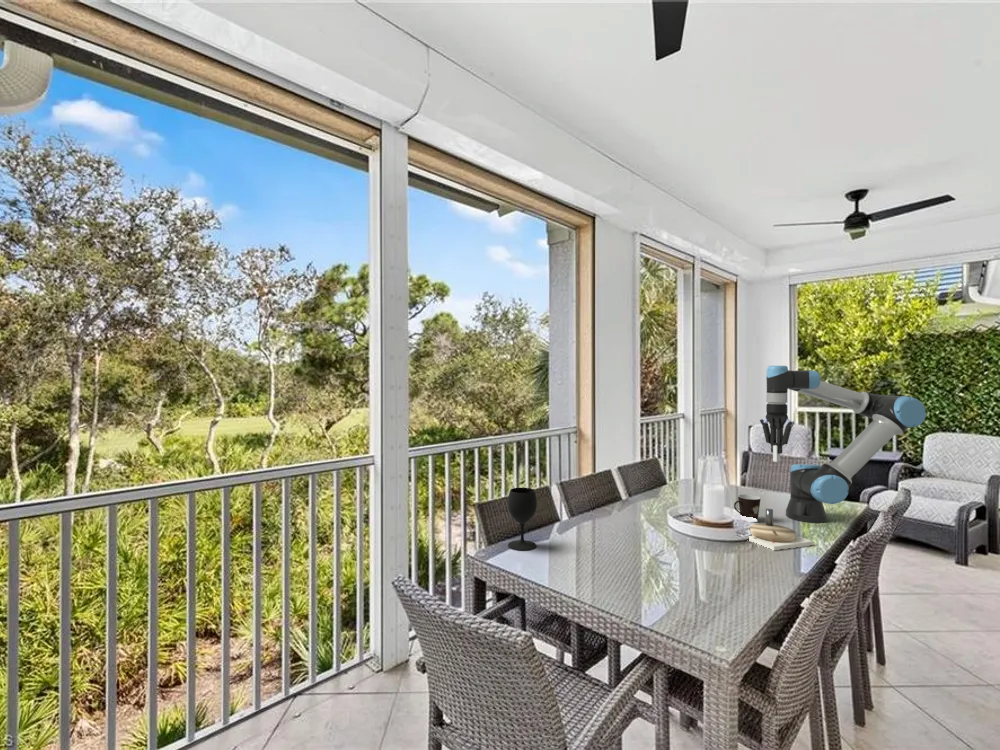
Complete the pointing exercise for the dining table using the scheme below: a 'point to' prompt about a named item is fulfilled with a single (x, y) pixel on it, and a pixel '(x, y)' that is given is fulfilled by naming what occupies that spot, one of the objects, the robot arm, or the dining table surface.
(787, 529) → the dial
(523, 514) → the wine glass
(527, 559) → the dining table surface
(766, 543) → the base plate
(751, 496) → the coffee mug
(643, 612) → the dining table surface
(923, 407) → the robot arm
